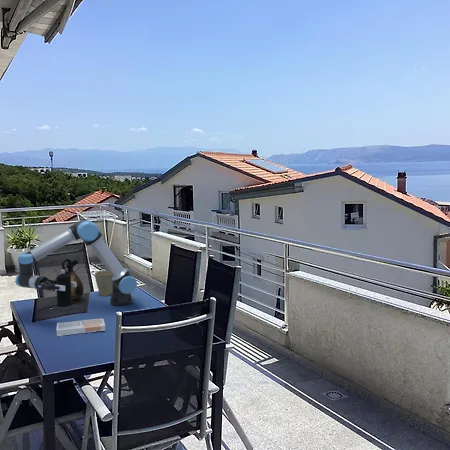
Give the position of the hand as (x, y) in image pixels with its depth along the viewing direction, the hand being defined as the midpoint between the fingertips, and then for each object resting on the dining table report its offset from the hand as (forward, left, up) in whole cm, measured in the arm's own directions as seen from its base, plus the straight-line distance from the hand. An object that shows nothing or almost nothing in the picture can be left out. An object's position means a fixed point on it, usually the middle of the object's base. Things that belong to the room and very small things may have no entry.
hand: (70, 286), depth 252 cm
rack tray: (-5, +5, -24) cm, 25 cm away
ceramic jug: (0, -56, -24) cm, 61 cm away
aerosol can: (+3, -3, -11) cm, 12 cm away
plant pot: (-24, -67, -24) cm, 75 cm away
